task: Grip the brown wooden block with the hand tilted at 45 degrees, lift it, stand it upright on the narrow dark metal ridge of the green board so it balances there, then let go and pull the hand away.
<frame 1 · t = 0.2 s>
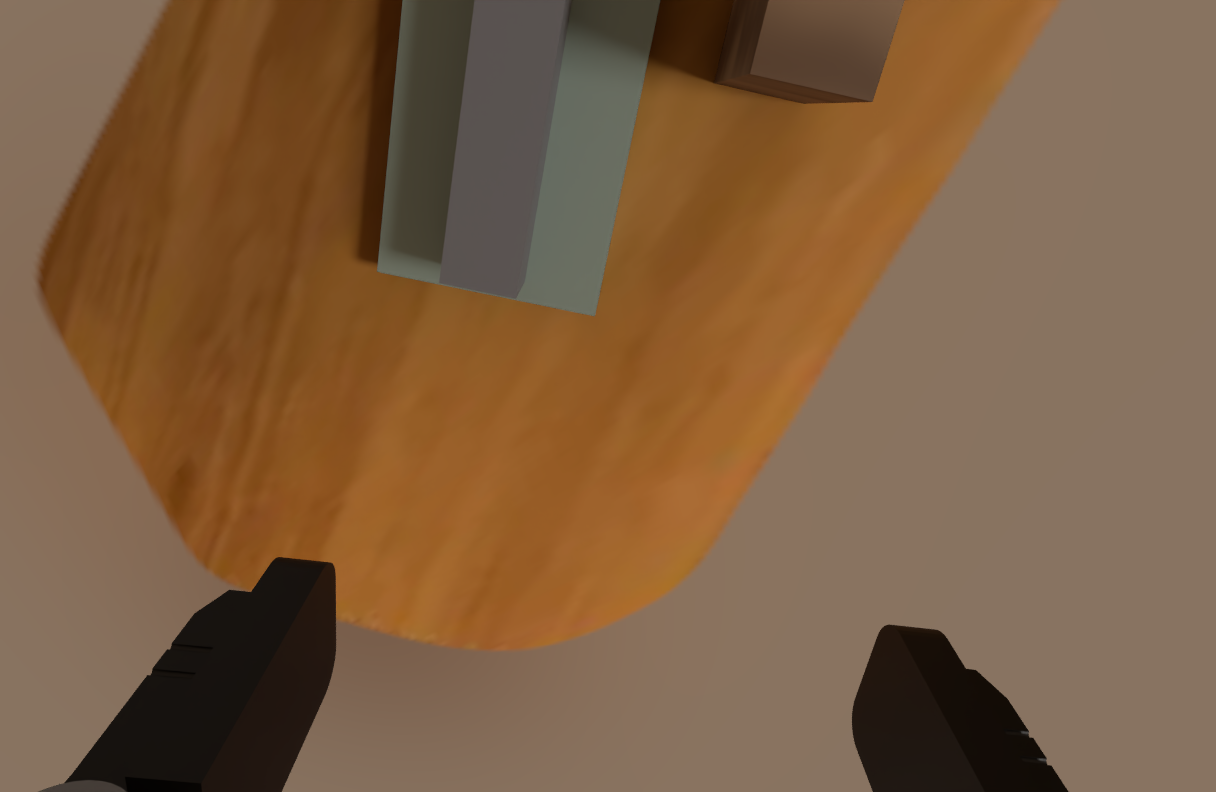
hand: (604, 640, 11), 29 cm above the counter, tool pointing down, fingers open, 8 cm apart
brown wooden block: (772, 42, 34), on the counter
ridge board: (519, 104, 35), on the counter
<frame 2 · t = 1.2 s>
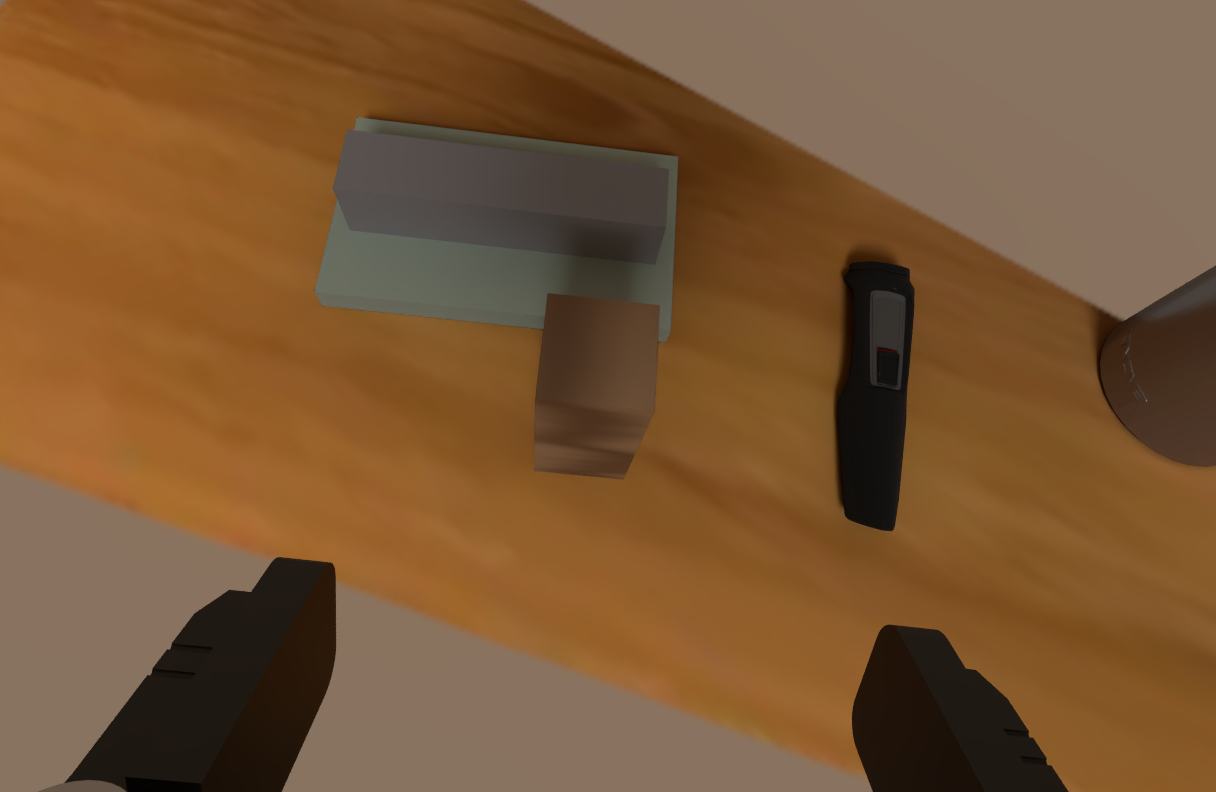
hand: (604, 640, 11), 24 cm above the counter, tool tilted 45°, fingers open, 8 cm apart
brown wooden block: (582, 432, 37), on the counter
ridge board: (509, 235, 41), on the counter
electric trimmer: (867, 394, 40), on the counter
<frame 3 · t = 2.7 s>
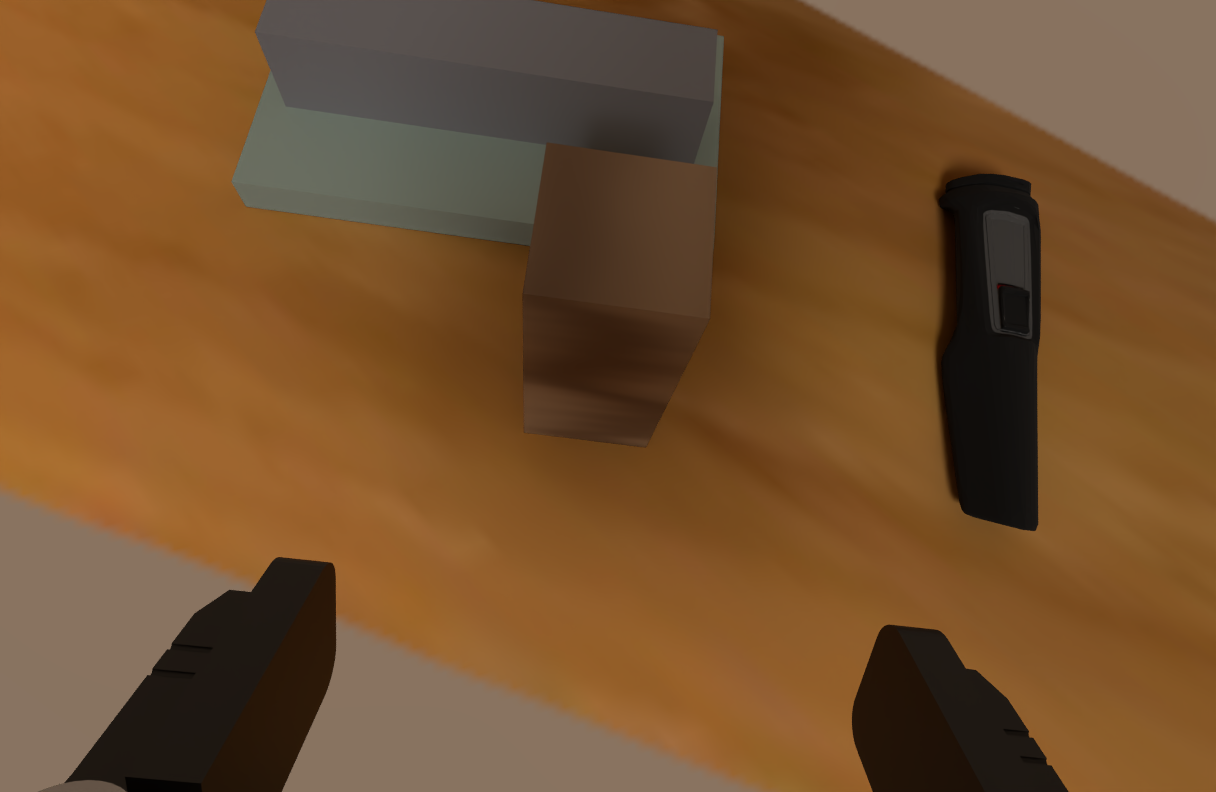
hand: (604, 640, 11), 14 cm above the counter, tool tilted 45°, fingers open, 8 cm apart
brown wooden block: (591, 383, 27), on the counter
ridge board: (500, 128, 31), on the counter
electric trimmer: (976, 349, 30), on the counter
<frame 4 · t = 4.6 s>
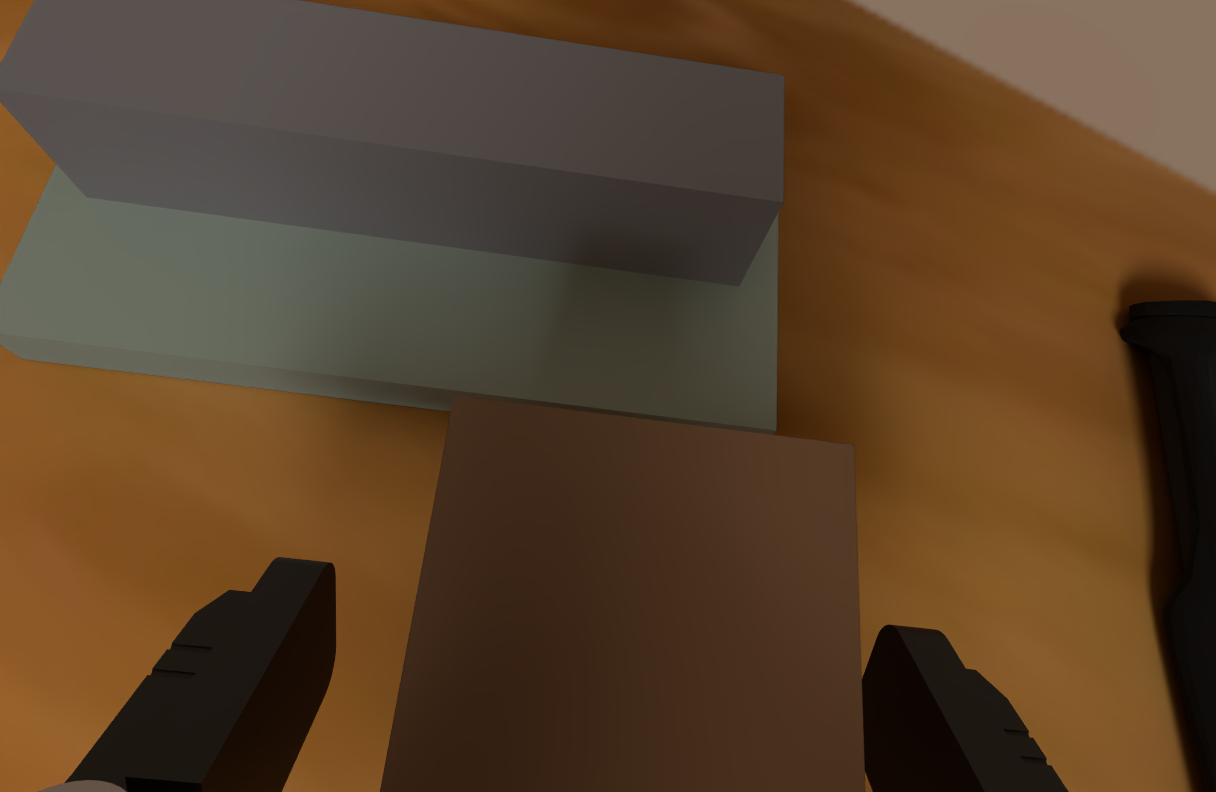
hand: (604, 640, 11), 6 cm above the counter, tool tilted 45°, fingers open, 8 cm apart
brown wooden block: (577, 662, 16), on the counter
ridge board: (440, 219, 20), on the counter
electric trimmer: (1201, 575, 19), on the counter
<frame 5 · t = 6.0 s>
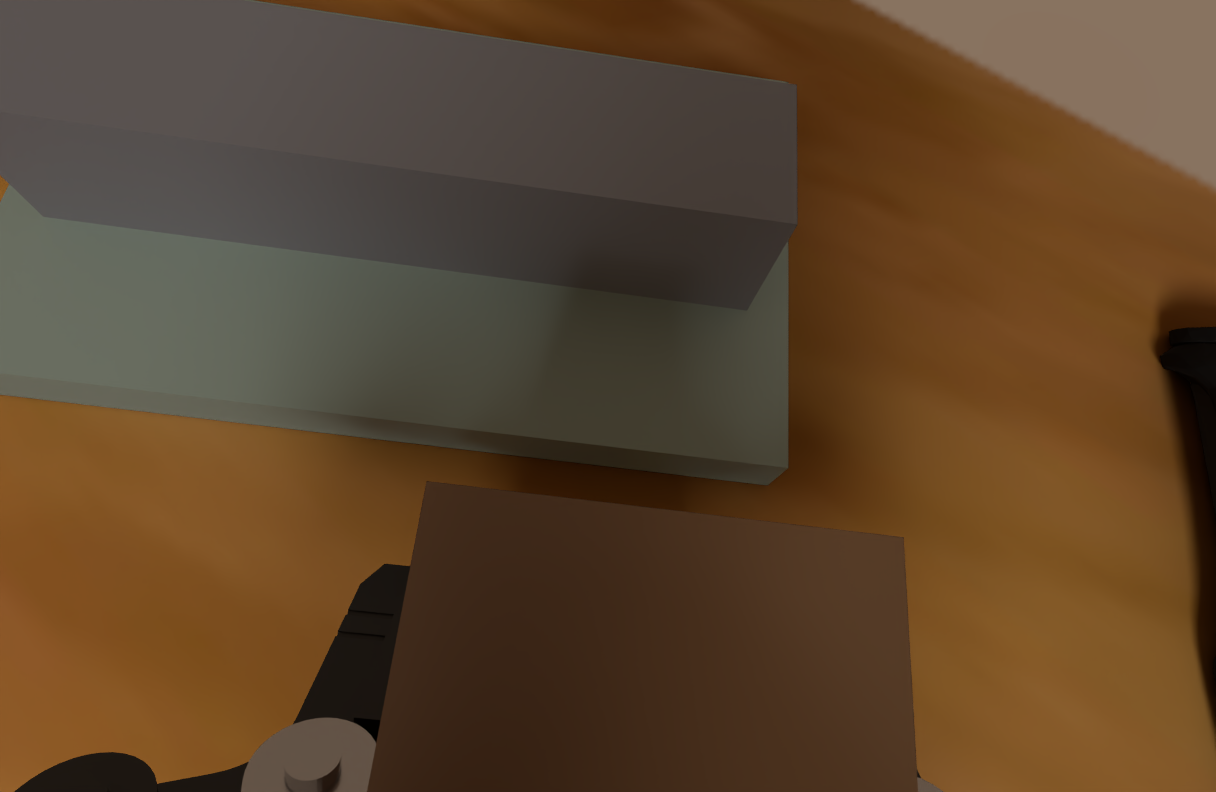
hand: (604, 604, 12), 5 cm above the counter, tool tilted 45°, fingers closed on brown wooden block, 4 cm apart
brown wooden block: (574, 723, 15), on the counter, touching gripper
ridge board: (427, 237, 19), on the counter
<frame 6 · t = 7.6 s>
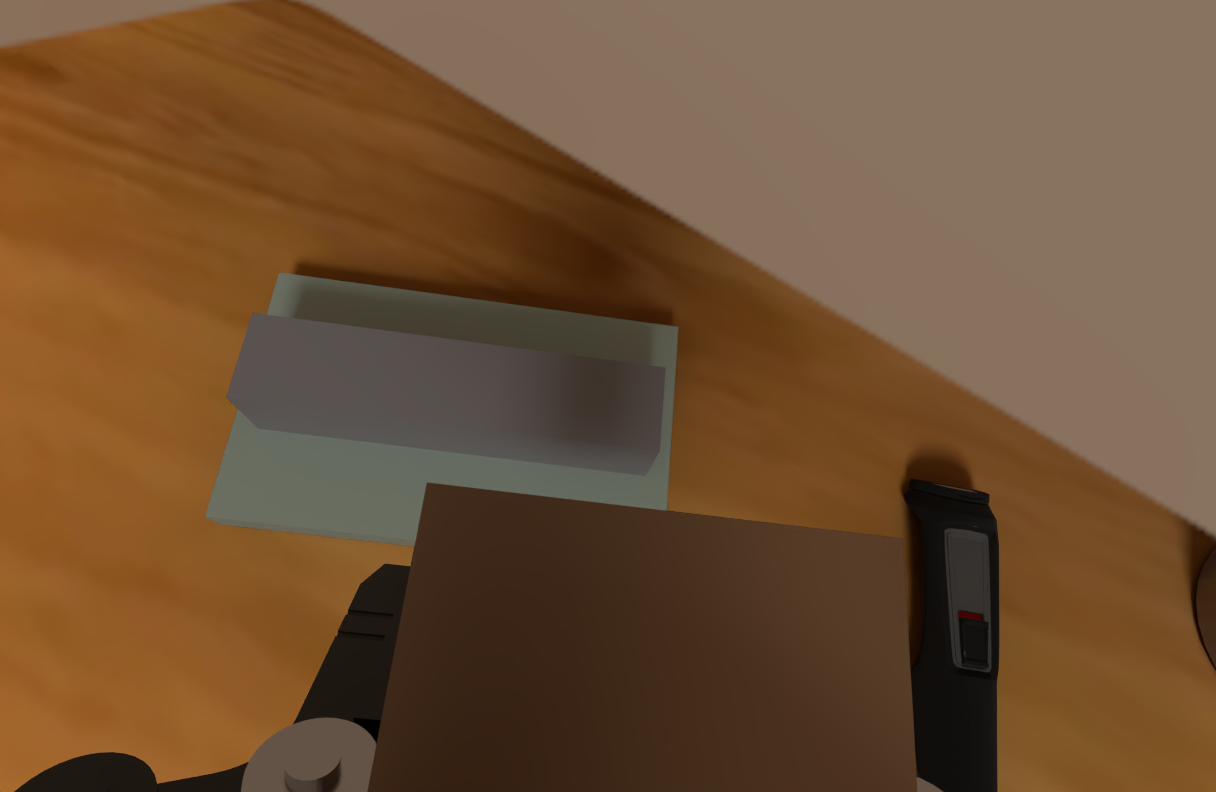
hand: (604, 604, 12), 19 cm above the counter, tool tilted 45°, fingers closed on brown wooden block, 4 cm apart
brown wooden block: (574, 723, 15), point 15 cm above the counter, touching gripper
ridge board: (464, 425, 33), on the counter
electric trimmer: (941, 653, 32), on the counter
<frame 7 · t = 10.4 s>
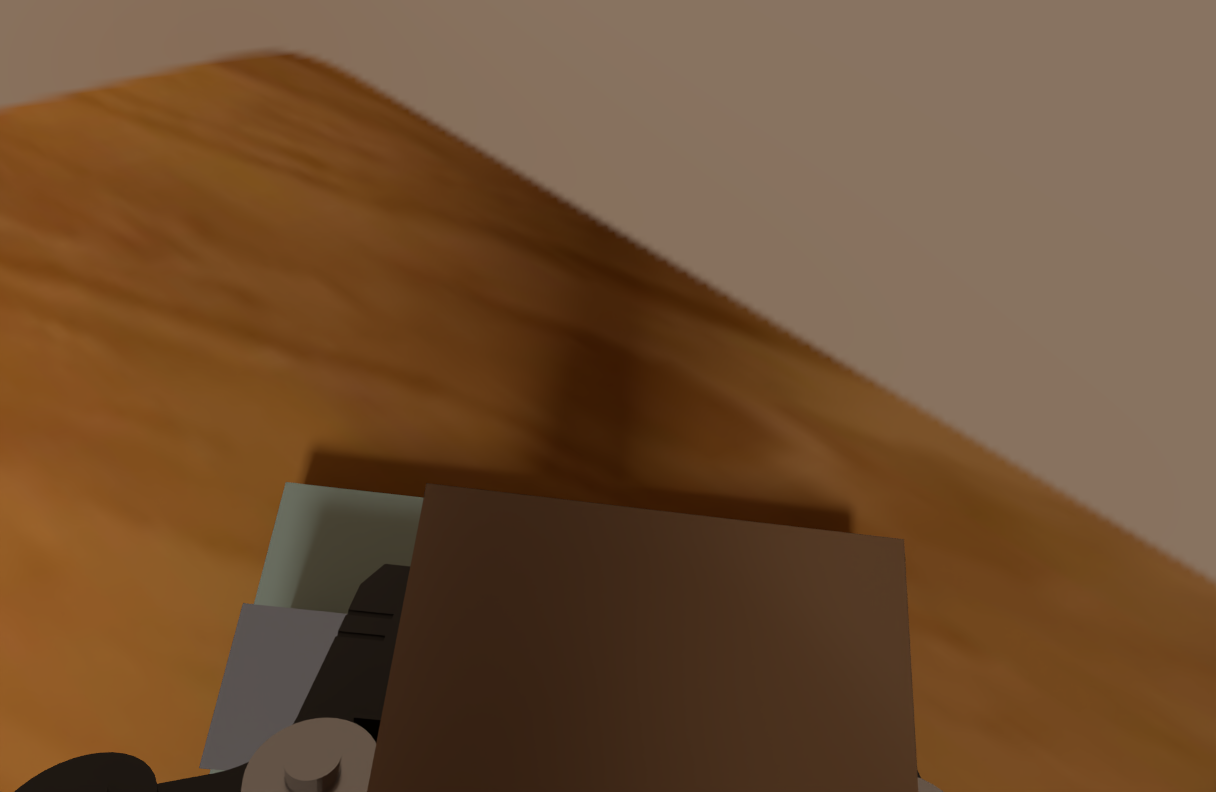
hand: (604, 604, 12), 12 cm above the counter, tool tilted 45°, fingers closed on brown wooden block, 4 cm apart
brown wooden block: (574, 724, 15), point 7 cm above the counter, touching gripper
ridge board: (563, 709, 22), on the counter
when the fingers open (11 cm above the counter, at t = 11.2 s): brown wooden block stays where it is, resting on ridge board.
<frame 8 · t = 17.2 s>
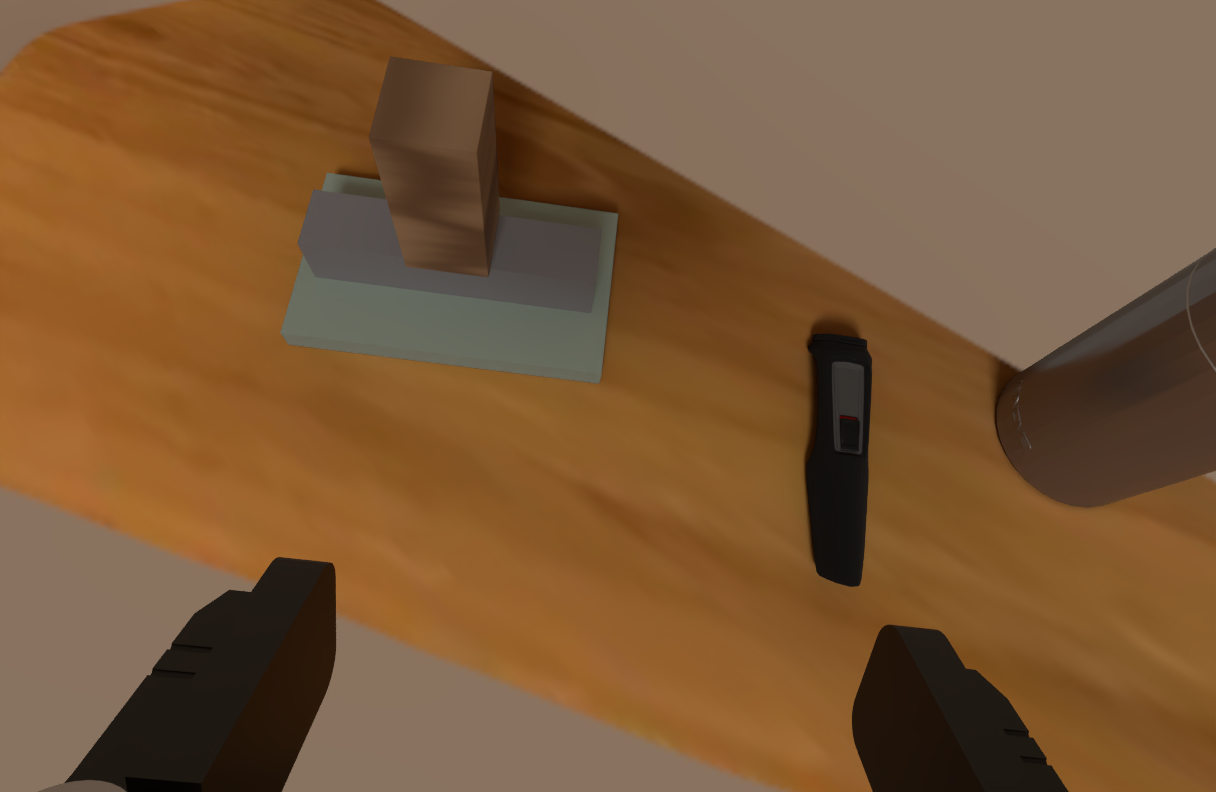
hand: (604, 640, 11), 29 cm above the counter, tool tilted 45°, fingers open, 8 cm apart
brown wooden block: (453, 237, 40), point 5 cm above the counter, touching ridge board
ridge board: (461, 282, 45), on the counter
electric trimmer: (833, 454, 44), on the counter
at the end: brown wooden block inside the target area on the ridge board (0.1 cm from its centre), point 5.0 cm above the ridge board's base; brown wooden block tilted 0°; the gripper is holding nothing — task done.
